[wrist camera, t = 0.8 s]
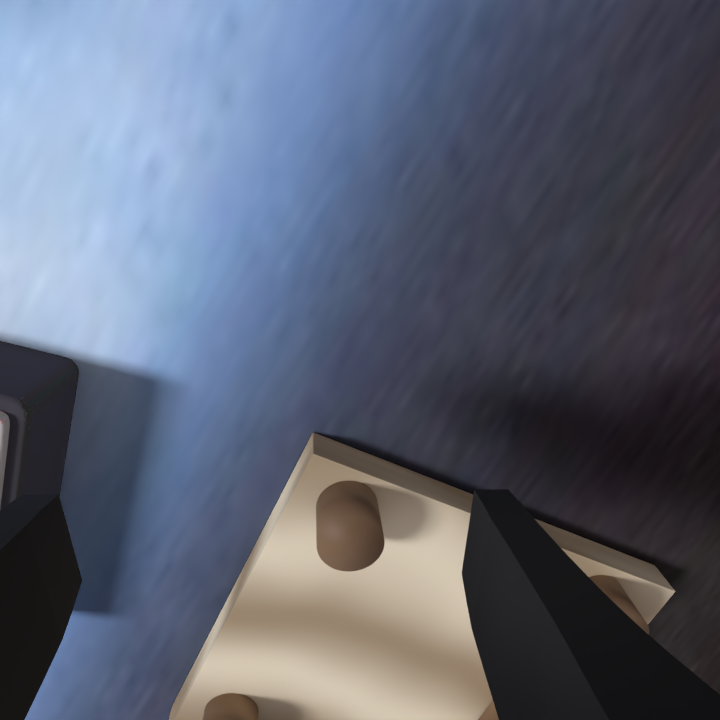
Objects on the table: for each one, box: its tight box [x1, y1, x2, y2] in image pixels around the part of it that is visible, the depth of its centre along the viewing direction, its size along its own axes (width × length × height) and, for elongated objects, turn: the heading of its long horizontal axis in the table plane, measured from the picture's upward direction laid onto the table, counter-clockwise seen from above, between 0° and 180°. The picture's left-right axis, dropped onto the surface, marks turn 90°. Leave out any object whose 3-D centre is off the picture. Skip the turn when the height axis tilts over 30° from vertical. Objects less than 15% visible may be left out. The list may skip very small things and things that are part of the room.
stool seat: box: [169, 432, 675, 720], centre depth 23 cm, size 15×16×4 cm
